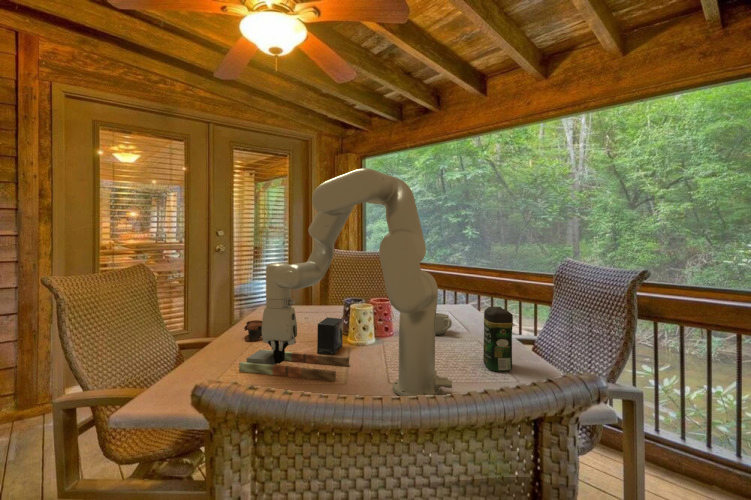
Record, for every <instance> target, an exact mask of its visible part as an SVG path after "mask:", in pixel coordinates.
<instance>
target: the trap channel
mask: <svg viewBox="0 0 751 500" xmlns="http://www.w3.org/2000/svg"><path fill="white" fill-rule="evenodd" d="M265 350H266V351H273V350H272V349H265ZM284 361H288V362H298V363H299V362H301V363H308V364H318V365H320V364H321V365H330V366H339V367H340V366H341V367H349V366H350V357H349V356H340V355H329V354H317V353H316V354H315V353H308V352H307V353H305V352H295V351H285V359H284ZM238 367H239V368H238V371H239V372H240V373H242V372H243V373H252V374H253V373H254V374H261V375H262V374H263V375H271V376H280V377H289V378H290V377H291V378H300V379H309V380H318V381H327V382H335V381H336V379H337V377H336V376H337V373H336V372H337V371H336V370H327V369H318V368H310V367H309V368H307V367H299V366H291V365H290V366H288V365H279V364H275V365H270V364H260V363H249V362H247V361H240V362H239V363H238Z"/></svg>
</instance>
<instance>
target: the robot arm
mask: <svg viewBox="0 0 751 500" xmlns="http://www.w3.org/2000/svg"><path fill="white" fill-rule="evenodd" d="M311 202H312V206H313V209H315V211H316V214H315V216H314V218H313V219H312V221H311V223H310V225H309V227H308V230H307V231H308V235H309V236H310V237H311V238H312V239H313V242H314V243H313V244H314V245H313V249H312V250H311V253H310V254H309V257H308V259H307V260H306V262H298V263H292V264H290V263H288V262H287V263H286V262H272V263H271V262H270V263H268V264H267V265H266V266H265V307H264V309H263V313H262V320H261V321H262V336H261V338H262V337H263V338H262V343H265V344H268V345H269V346H270V347H271V350H273V352H274V363H276V364H277V365H279V364H282V363H283V362H285V360H284V359H285V352H286V350H285V349H286V348H288V346H293V345H295V344H296V343H297V340H296V338H297V337H298V323H297V322H298V321H297V316H296V311H295V307H294V306H295V305H296V300H295V299H293V298H292V290H293V291H297V290H301V289H305V288H309V287H312V286H317V284H319V283H320V282H321V281H322V279H323V278H324V277H325V274H326V273H327V271H328V270H329V268H330V266H331V264H332V261H333V258H334V253H335V243H336V241H337V239H338V238H339V235H340V234H341V232H342V230H343V228H344V226H345V225H346V223H347V221H348V220H349V217H350V216H351V214H352V213H353V210H354V209H355V206H357V205H360V204H363V203H367V204H372V205H373V204H375V205H382V206H384V208H385V219H386V220H385V221H386V224H387V229H388V233H387V234H385V235H384V237H383V238H382V239H381V242H380V244H379V248H378V250H379V255H378V257H379V260H380V267H381V270H382V276H383V279H384V285H385V290H386V294H387V298H388V300H389V303H390V304H391V306H392V307H393V308H394V309H395V310H397V311H398V312H399V322H398V324H399V325H398V327H399V328H398V379H396V380H395V381H394V382H393V383H392V390H393V392H394V393H395V394H396V395H398V396H400V397H402V396H417V395H437V396H439V394H440V393H441V388H445V389H447V388H448V389H453V380H452V379H449V377H447V376H443V377H442V376H440V375H438V370H436V335H435V332H436V313H437V307H438V306H437V305H438V299H439V298H438V297H439V288H438V284H437V281H436V279H435V278H434V276H433V275H432V274H431V273H429V272H428V271H425V270H422V267H421V264H420V263H421V262H422V261H423V260H424V259H425V257H426V253H427V246H426V242H425V238H424V235H423V230H422V225H421V220H420V218H419V213H418V208H417V205H416V200H415V196H414V194H413V191H412V189H411V188H410V186H409V185H408V183H406V182H405V181H404V180H403V179H400V178H399V177H396V176H392V175H389V174H385V173H383V172H380V171H377V170H375V169H371V168H367V167H364V168H358V169H355V170H352V171H349V172H346V173H344V174H341V175H338V176H336V177H333V178H331V179H328V180H326V181H324V182H322V183H321V184H319V185H318V186H317V187H316V188H315V189H314V191H313V193H312V198H311Z"/></svg>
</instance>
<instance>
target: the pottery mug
mask: <svg viewBox="0 0 751 500" xmlns="http://www.w3.org/2000/svg"><path fill="white" fill-rule="evenodd" d="M245 324H246V325H245V326H244V327H243V329H244V332H246V331H247V332H248V334H247V335H246V334H245V335H244V341H245V342H260V341H261V338H262V339H263V337H262V320H259V319H258V320H257V319H256V320H248V321H247V322H245Z"/></svg>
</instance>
